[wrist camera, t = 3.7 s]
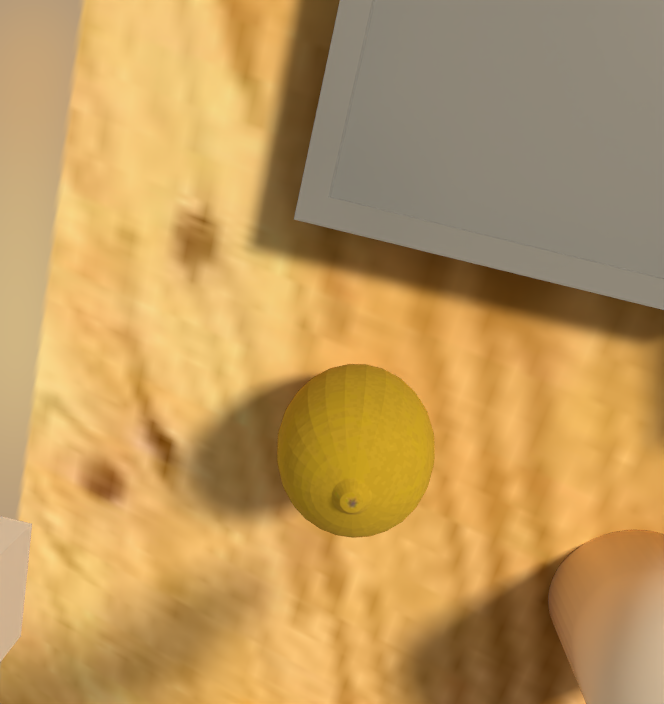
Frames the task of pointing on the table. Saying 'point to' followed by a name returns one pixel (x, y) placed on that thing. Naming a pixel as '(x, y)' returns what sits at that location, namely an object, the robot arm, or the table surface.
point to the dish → (499, 136)
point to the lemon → (355, 450)
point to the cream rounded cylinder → (613, 616)
